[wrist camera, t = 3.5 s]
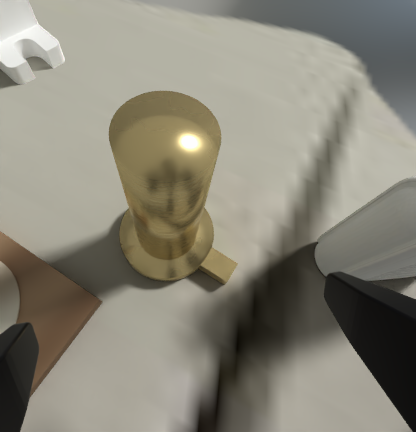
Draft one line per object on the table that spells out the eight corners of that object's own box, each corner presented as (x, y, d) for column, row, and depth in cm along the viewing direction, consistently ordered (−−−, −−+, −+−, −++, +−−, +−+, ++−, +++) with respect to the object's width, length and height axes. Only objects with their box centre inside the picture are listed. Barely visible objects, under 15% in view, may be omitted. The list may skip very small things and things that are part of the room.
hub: (102, 248, 22) (30, 147, 11) (156, 182, 25) (147, 46, 13) (205, 317, 21) (249, 286, 10) (250, 240, 24) (326, 145, 12)
